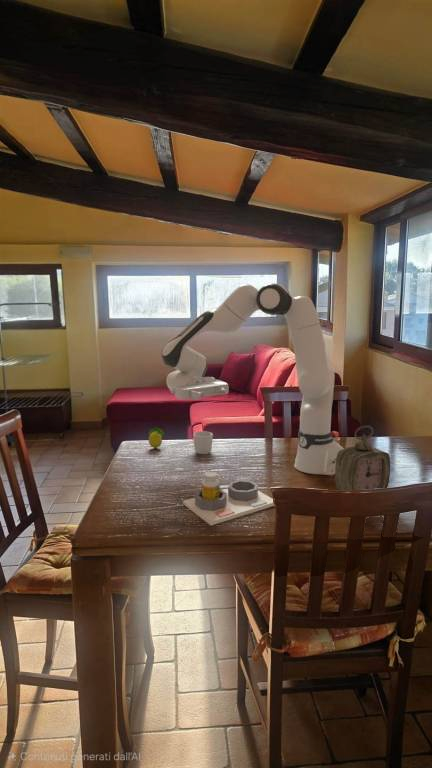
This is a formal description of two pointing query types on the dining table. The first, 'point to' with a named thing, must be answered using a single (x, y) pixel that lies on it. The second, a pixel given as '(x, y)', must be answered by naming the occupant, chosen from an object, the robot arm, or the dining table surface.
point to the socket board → (230, 502)
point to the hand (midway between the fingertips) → (213, 394)
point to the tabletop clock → (362, 466)
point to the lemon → (155, 438)
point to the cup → (203, 442)
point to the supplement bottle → (210, 486)
